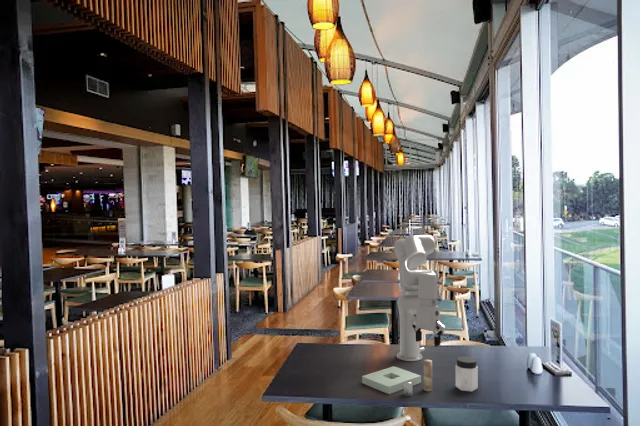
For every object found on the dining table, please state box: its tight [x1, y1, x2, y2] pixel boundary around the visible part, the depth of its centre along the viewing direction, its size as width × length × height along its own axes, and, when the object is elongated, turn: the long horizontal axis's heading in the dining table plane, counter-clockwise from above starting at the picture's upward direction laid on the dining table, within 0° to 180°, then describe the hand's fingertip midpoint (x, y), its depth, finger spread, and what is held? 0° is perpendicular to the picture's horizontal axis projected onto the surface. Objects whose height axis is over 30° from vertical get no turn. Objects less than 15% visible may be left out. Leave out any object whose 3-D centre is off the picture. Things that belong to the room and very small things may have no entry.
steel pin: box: [403, 381, 414, 397], centre depth 196 cm, size 4×4×5 cm
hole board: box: [361, 365, 422, 395], centre depth 209 cm, size 20×16×3 cm
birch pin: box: [423, 359, 433, 392], centre depth 201 cm, size 4×4×12 cm
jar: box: [454, 355, 479, 392], centre depth 202 cm, size 9×8×12 cm
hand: (427, 343), depth 200 cm, fingers open, 9 cm apart
